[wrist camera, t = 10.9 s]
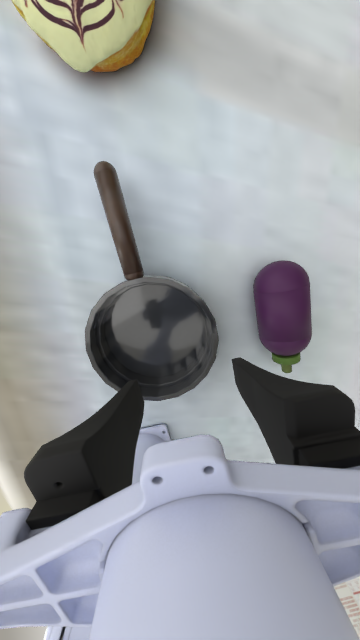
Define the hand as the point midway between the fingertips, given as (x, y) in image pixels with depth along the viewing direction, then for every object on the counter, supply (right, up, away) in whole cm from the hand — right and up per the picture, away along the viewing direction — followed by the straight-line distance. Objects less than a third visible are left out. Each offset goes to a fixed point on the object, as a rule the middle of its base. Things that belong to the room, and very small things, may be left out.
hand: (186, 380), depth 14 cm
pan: (-3, +3, +9) cm, 10 cm away
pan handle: (-6, +13, +4) cm, 14 cm away
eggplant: (+10, +5, +9) cm, 14 cm away
